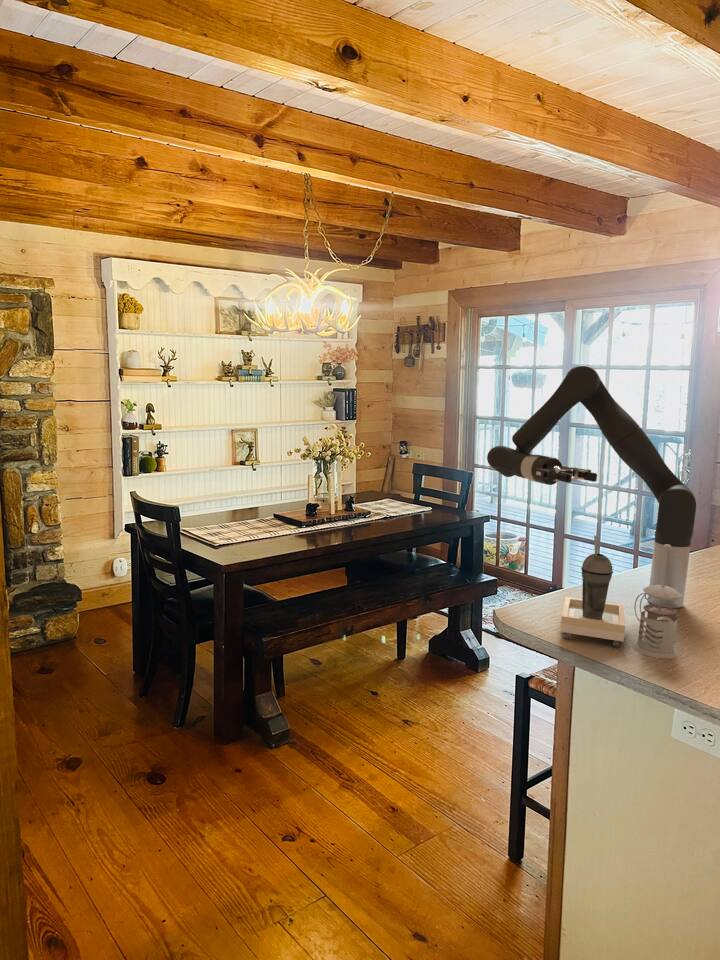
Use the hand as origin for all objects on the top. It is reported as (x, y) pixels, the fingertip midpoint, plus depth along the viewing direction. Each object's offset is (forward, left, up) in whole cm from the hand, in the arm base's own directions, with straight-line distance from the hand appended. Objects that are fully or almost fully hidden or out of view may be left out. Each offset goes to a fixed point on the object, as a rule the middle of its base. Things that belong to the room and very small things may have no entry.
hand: (583, 478), depth 181 cm
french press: (+17, +19, -36) cm, 44 cm away
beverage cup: (+13, +5, -32) cm, 35 cm away
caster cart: (+14, +6, -36) cm, 39 cm away
